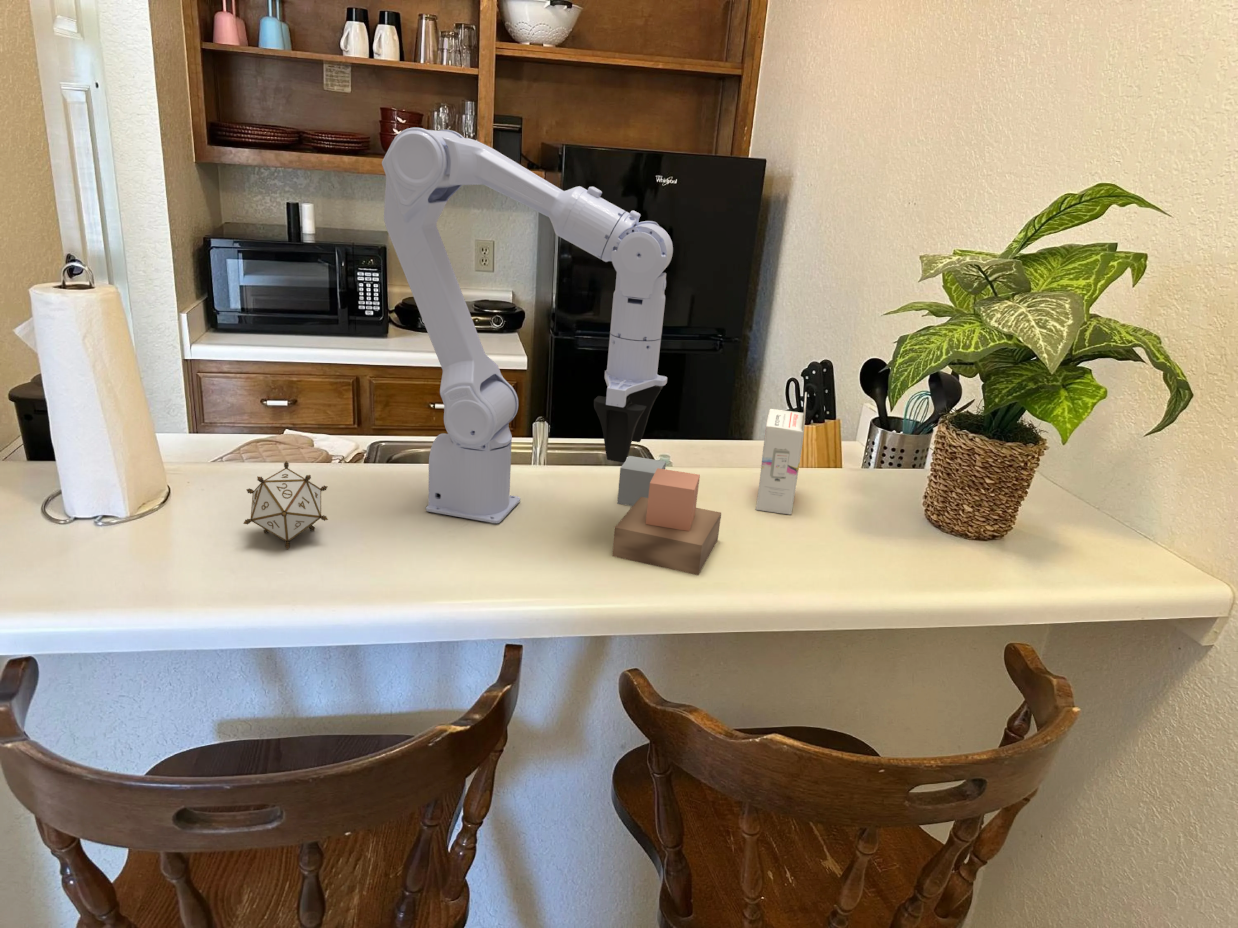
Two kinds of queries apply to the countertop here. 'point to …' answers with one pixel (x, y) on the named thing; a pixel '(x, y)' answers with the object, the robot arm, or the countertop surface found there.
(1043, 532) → the countertop surface
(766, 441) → the ink cartridge box
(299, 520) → the game die
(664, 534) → the walnut block
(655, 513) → the salmon pink cube
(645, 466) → the grey cube
